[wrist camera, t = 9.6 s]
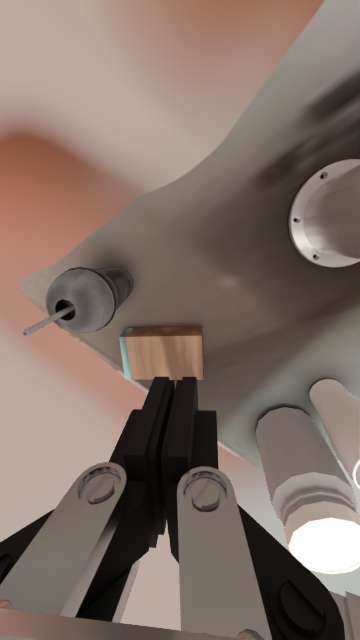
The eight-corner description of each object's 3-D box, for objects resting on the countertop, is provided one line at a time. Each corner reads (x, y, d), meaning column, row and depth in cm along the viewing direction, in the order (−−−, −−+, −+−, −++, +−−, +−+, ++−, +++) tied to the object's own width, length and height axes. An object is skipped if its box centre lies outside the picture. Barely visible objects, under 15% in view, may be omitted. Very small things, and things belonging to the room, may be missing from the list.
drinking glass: (356, 380, 40) (438, 459, 26) (336, 415, 42) (401, 506, 28) (314, 367, 40) (371, 439, 26) (296, 403, 42) (340, 487, 28)
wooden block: (201, 335, 36) (119, 337, 38) (203, 379, 38) (125, 379, 40) (202, 326, 40) (127, 327, 41) (203, 366, 42) (132, 367, 44)
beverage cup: (152, 288, 39) (97, 336, 20) (116, 315, 41) (36, 382, 22) (121, 248, 38) (31, 259, 19) (86, 278, 40) (-27, 314, 21)
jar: (295, 458, 45) (347, 591, 28) (244, 437, 45) (265, 558, 28) (326, 416, 42) (404, 537, 25) (271, 394, 42) (312, 500, 25)
